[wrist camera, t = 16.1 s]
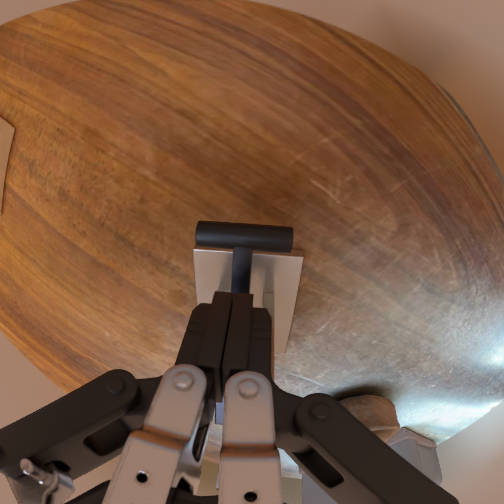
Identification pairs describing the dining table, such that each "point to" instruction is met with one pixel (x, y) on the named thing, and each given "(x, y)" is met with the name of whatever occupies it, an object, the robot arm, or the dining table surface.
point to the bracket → (255, 285)
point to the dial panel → (4, 152)
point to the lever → (242, 254)
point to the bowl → (374, 414)
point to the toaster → (406, 445)
